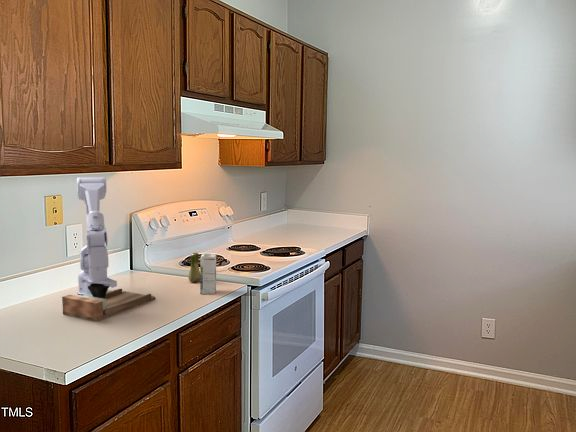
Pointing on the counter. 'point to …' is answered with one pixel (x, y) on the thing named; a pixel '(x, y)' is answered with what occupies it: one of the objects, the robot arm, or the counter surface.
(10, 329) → the counter surface
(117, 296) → the track
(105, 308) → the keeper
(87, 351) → the counter surface
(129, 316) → the counter surface
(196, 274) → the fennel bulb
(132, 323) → the counter surface
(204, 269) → the syrup box
